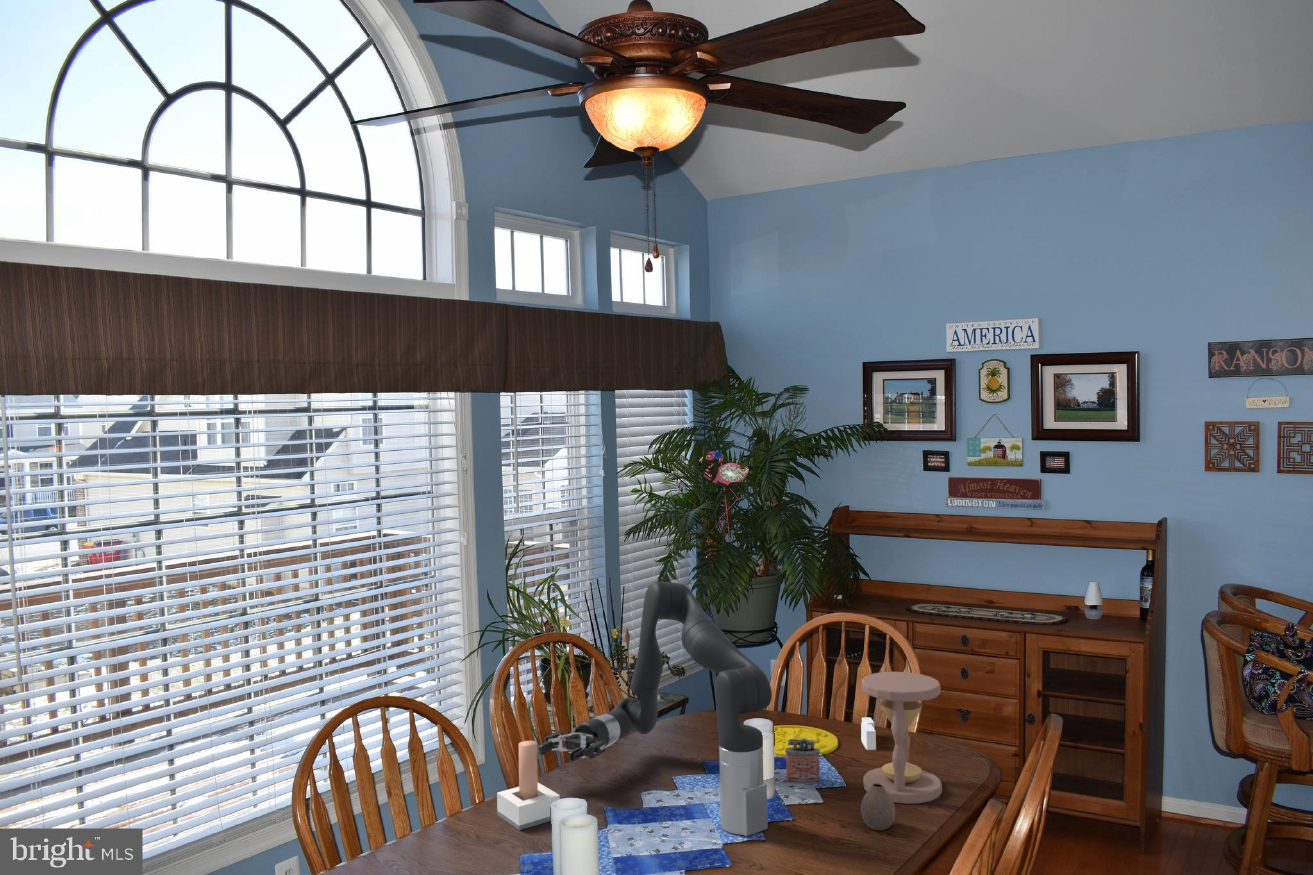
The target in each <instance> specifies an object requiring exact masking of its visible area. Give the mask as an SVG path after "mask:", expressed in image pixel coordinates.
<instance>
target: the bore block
mask: <svg viewBox="0 0 1313 875" xmlns="http://www.w3.org/2000/svg"><path fill="white" fill-rule="evenodd" d="M560 798H561V797H560V794H558V793H557V792H555V791H554V790H552V789H551V788H548V787H547V786H545V785H543V784H542V783H539V782H538V797H535V798H532V799H528V800H525V801H522V800H521V799H519V786H516V787H513V788H510V789H505V790H502V791H499V792H496V801H497V803H496V806H497V808H496V810H497V812H496V813H497V816H498V817H500V819H502V820H504V821H505V822H506V823H508V824H509V825H511V826H512V827H513V828H515V829H516V830H518V831H521V830H525V829H528V828H532V827H535V826H539V825H542V824H545V823H548V822H551V818H550V807H551V804H552V802H554V801H557V800H559V799H560ZM560 800H561V799H560Z"/></svg>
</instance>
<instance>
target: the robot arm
mask: <svg viewBox="0 0 1313 875" xmlns="http://www.w3.org/2000/svg"><path fill="white" fill-rule="evenodd" d="M659 620H669V621H675V622H676V621H677V622H679V623H681V625H683V627H682V629H681V635H680V636H681V637H680V639H681V645H682V646H683V648H684V649H685V651H686V652H687V654H688V655H689V656H690V657H691V659H692V661H694V662H695V663H696V665H697V664H698V665H699V666H700V667H702V668H705V670H708V671H711V672H713V673H715V674H717V675H716V678H715V682H714V698H715V700H714V701H715V708H716V709H715V710H716V727H717V733H718V743H719V744H718V748H719V749H718V751H719V755H718V756H719V804H720V805H719V806H720V807H719V808H720V809H719V810H720V811H719V812H720V827H721V829H722V830H724V831H725V832H727V833H730V834H733V835H734V834H735V835H741V836H744V837H748V836H752V835H754V834H757V833H759V832H763V831H765V830H767V829H768V785H767V783H765V782H764V753H763V735H762V732H761V731H760V730H759V728H757V727H755V726H752V725H749V724H744V723H741V720H740V715H744V714H750V713H751V714H752V713H755V712H759V711H762V710H765V709H766V708H768V707H769V706H770V704H771V702H772V698H773V692H772V687H771V684H770V682H769V681H770V680H769V679H768V677H767V676H766V674H765V673H764V671H763V670H762V669H761V668H760V667H759V666H758V665H757V664H756V663H754V662H753V661H752V660H751V659H750V658H748V657H747V656H746V655H745V654H743V652H741V651H740V649H739V648H738V647H736V646H735V644H733V643H732V641H731V640H730V639H729V638H728V637H727V636H726V634H725V633H724V631H723V630H722V629H721V628H719V626H718V625H717V624H716V623H715V622H714V620H712V619H711V617H710V616H709V615H708V614H707V613H706V611H705V610H704V609H703V608H702V607H701V605H700V603H699V602H698V600H697V599H696V597H695V595H694V594H693V592H692V591H691V589H690V588H689V587H688V586H687V585H685V584H684V583H683V584H682V583H678V582H670V581H653V582H651V583H650V584H649V585H648V587H647V589H646V592H645V595H644V598H643V606H642V616H641V622H640V631H639V632H640V633H639V645H638V651H637V657H636V661H635V665H634V670H633V671H632V672H633V673H632V677H631V681H630V686H629V687H630V690H631V692H632V693H633V694H634V695H635V697H637V698H638V699H636V698H634V697H631V696H627V697H624V698H622V699H621V700H620V701H619V703H618V704H617V705H616V706H615V707H614V708H613V709H612V710H611V711H608V712H606V713H605V714H602V715H601V714H600V715H598V716H595V717H593V718H591V719H589V720H586V721H584V722H582V723H579V725H577V727H576V728H575V730H574V731H573V732H570V733H569V734H564V731H562V730H559V731H556V732H554V733H551V734H549V735H547V736H545V737H544V741H543V742H544V743H542V744H540V745H539V746H538V754H539V755H540V756H544V755H546V754H548V753H550V752H552V751H559V752H561V753H562V752H568V754H567V759H568V762H569V763H572V762H574V761H577V760H579V759H584V758H585V759H586V758H587V757H588V759H595V758H596V757H598V756H600V755H601V754H603V753H605V752H606V748H608V747H609V746H611V745H613V744H615V742H618V741H620V740H621V739H624V738H625V737H627V736H629V734H630V733H631V731H632V730H633V731H635V732H636V733H638V734H640V735H648V734H649V733H651V732H652V731H653V730H654V729H655V727H656V724H657V721H658V713H659V712H658V710H659V709H658V689H659V685H660V682H661V678H662V675H663V674H662V673H663V669H664V659H663V655H662V651H661V648H660V646H659V643H658V639H657V631H656V630H657V625H658V621H659ZM563 743H564V746H563Z"/></svg>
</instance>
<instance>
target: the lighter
mask: <svg viewBox="0 0 1313 875" xmlns="http://www.w3.org/2000/svg"><path fill="white" fill-rule="evenodd" d="M788 745H794V747H790V748H786V749H785V753H786V758H785V759H786V760H785V764H786V771H785V772H786V776H785V782H787V783H789V784H808V785H809V784H820V783H821V776H820V756H819V754H820V750H819V749H818V748H814V740H807V739H806V738H802V739H801V740H798V739H789V740H788ZM797 745H798V746H799V747H797ZM809 746H810V747H811V748H810V747H809Z"/></svg>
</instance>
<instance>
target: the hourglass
mask: <svg viewBox="0 0 1313 875" xmlns="http://www.w3.org/2000/svg"><path fill="white" fill-rule="evenodd" d="M941 687H942V686H941V684H940V681H939V680H937V679H936V678H934V677H932V676H928V675H925V674H921V673H917V672H916V673H915V672H909V671H908V672H905V671H883V672H882V671H880V672H874V673H870V674H867V675H866V676H864V677H863V678H862V679H861V689H862V691H863V692H864V693H865V694H866V695H867V696H870V697H873V698H877V699H880V700H881V701H880V702H879V704H880V707H881V710H882V712H883V713H884V715H885V716H886V717H887V719H888V721H889V722H890V723H891V733H892V736H893V740H894V748H893V751H892V757H891V758H892V760H891V762H888V763H886V764H883V765H882V767H877V768H873V769H871V770H868V771H867V772H866V773H865V774H864V776H863V788H864V790H865V791H866V793H867V792H868V791H869V789H870V788H871V786H872V784H874V783H880V784H882V785H883V786H884V788H885V790H886V791H887V792H888V794H889V795H890V796H891V798H892V800H893V802H894V804H895V803H896V804H905V805H907V804H908V805H909V804H913V805H914V804H923V803H928V802H932V801H934V800H936V799H939V798H940V795H941V794H942V793H943V784H942V781H941V779H940V778H939V777H937V776H936V775H935V774H933V773H932V772H928V771H926V770H923V769H922V768H921V767H920V766H918V765H915V764H913V763H910V749H911V748H910V746H911V737H910V734H909V730H908V729H909V727H910V726H911V725H912V724H913V722H914V720H916V718H917V716H918V715H919V714H920V712H921V711H922V707H923V704H922V703H921V702H922V701H929V700H932V699H936V698H937V697H939V695H940V694H941V692H942V691H941V690H942V689H941Z"/></svg>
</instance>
